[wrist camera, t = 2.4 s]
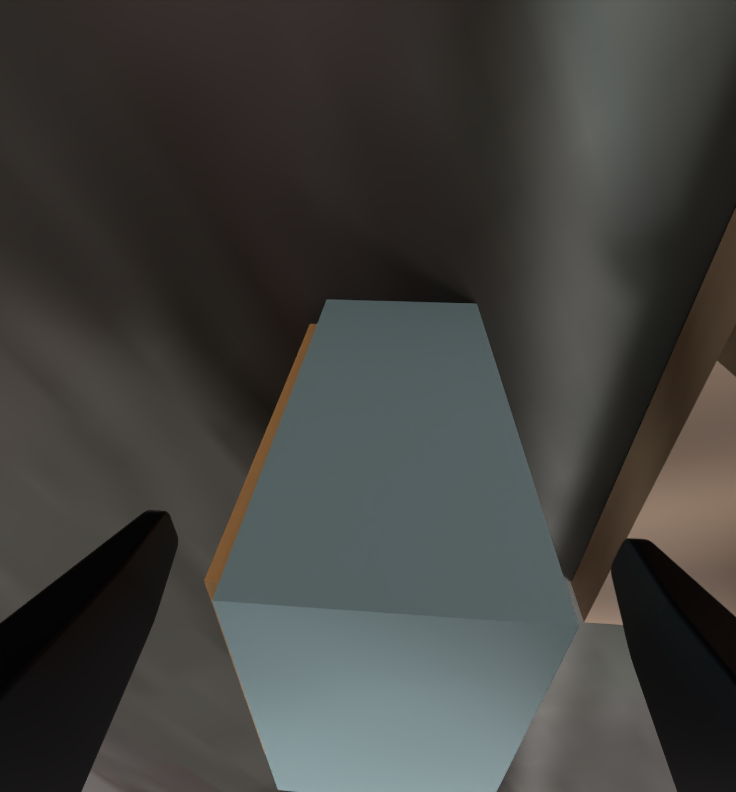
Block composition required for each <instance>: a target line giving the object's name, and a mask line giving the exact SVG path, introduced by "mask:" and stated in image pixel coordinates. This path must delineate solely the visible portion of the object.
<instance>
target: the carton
mask: <svg viewBox="0 0 736 792" xmlns="http://www.w3.org/2000/svg"><path fill="white" fill-rule="evenodd" d="M204 582H205V585H206V588H207V590H208V593H209V596H210V599H211V602H212V605H213V607H214V610H215V613H216V616H217V619H218V622H219V625H220V627H221V630H222V633H223V636H224V639H225V642H226V645H227V647H228V650H229V653H230V656H231V659H232V662H233V665H234V667H235V670H236V673H237V676H238V679H239V682H240V684H241V687H242V690H243V693H244V696H245V699H246V702H247V704H248V707H249V710H250V713H251V716H252V719H253V722H254V724H255V727H256V730H257V733H258V736H259V739H260V741H261V744H262V747H263V750H264V753H265V755H266V757H267V760H268V763H269V765H270V768H271V771H272V774H273V777H274V780H275V783H276V785H277V788H278V790H285V791H296V792H496V791H497V789H498V787H499V785H500V783H501V781H502V779H503V777H504V775H505V773H506V771H507V769H508V767H509V766H510V764H511V762H512V760H513V758H514V756H515V754H516V752H517V750H518V748H519V746H520V744H521V742H522V740H523V738H524V736H525V734H526V732H527V730H528V728H529V726H530V724H531V722H532V720H533V718H534V716H535V714H536V712H537V710H538V708H539V706H540V704H541V702H542V700H543V698H544V696H545V694H546V692H547V690H548V688H549V686H550V684H551V682H552V680H553V678H554V676H555V674H556V672H557V670H558V668H559V666H560V664H561V662H562V660H563V658H564V656H565V654H566V652H567V650H568V648H569V646H570V644H571V642H572V640H573V638H574V636H575V634H576V632H577V630H578V628H579V624H578V621H577V617H576V614H575V611H574V608H573V605H572V602H571V599H570V595H569V592H568V589H567V586H566V583H565V580H564V576H563V573H562V570H561V567H560V564H559V561H558V558H557V554H556V551H555V548H554V545H553V542H552V539H551V536H550V532H549V529H548V526H547V523H546V520H545V517H544V514H543V510H542V507H541V504H540V501H539V498H538V495H537V492H536V488H535V485H534V482H533V479H532V476H531V473H530V469H529V466H528V463H527V460H526V457H525V454H524V451H523V447H522V444H521V441H520V438H519V435H518V432H517V429H516V425H515V422H514V419H513V416H512V413H511V410H510V407H509V403H508V400H507V397H506V394H505V391H504V388H503V385H502V381H501V378H500V375H499V372H498V369H497V366H496V362H495V359H494V356H493V353H492V350H491V347H490V344H489V340H488V337H487V334H486V331H485V328H484V325H483V322H482V318H481V315H480V312H479V309H478V306H477V304H473V303H438V302H403V301H368V300H333V299H327V300H326V302H325V305H324V308H323V310H322V313H321V315H320V318H319V321H318V323H317V324H310V325H309V327H308V330H307V332H306V335H305V337H304V339H303V342H302V344H301V347H300V349H299V352H298V354H297V356H296V359H295V361H294V364H293V366H292V369H291V371H290V373H289V376H288V378H287V381H286V383H285V386H284V388H283V390H282V393H281V395H280V398H279V400H278V403H277V405H276V407H275V410H274V412H273V415H272V417H271V420H270V422H269V424H268V427H267V429H266V432H265V434H264V437H263V439H262V441H261V444H260V446H259V449H258V451H257V454H256V456H255V458H254V461H253V463H252V466H251V468H250V471H249V473H248V476H247V478H246V480H245V483H244V485H243V488H242V490H241V493H240V495H239V497H238V500H237V502H236V505H235V507H234V510H233V512H232V514H231V517H230V519H229V522H228V524H227V527H226V529H225V531H224V534H223V536H222V539H221V541H220V544H219V546H218V548H217V551H216V553H215V556H214V558H213V561H212V563H211V565H210V568H209V570H208V573H207V575H206V578H205V580H204Z"/></svg>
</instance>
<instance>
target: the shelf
mask: <svg viewBox="0 0 736 792" xmlns="http://www.w3.org/2000/svg"><path fill="white" fill-rule="evenodd" d="M627 538H637V539H647V540H649V541H651V542H653V543H654V544H655V545H656V546H657V547H658V548H659V549H661V550H662V551H663V552H664V553H665V554H666V555H667V556H668V557H670V558H671V559H672V560H673V561H674V562H675V563H676V564H677V565H679V566H680V567H681V568H682V569H683V570H684V571H685V572H686V573H687V574H689V575H690V576H691V577H692V578H693V579H694V580H695V581H696V582H698V583H699V584H700V585H701V586H702V587H703V588H704V589H705V590H707V591H708V592H709V593H710V594H711V595H712V596H713V597H714V598H715V599H717V600H718V601H719V602H720V603H721V604H722V605H723V606H724V607H726V608H727V609H728V610H729V611H730V612H731V613H732V614H733V615H735V616H736V208H735V210H734V212H733V215H732V217H731V219H730V221H729V224H728V226H727V228H726V231H725V233H724V235H723V237H722V240H721V242H720V244H719V247H718V249H717V251H716V253H715V256H714V258H713V260H712V263H711V265H710V267H709V269H708V272H707V274H706V276H705V279H704V281H703V283H702V285H701V288H700V290H699V292H698V295H697V297H696V299H695V301H694V304H693V306H692V308H691V311H690V313H689V315H688V317H687V320H686V322H685V324H684V327H683V329H682V331H681V333H680V336H679V338H678V340H677V343H676V345H675V347H674V349H673V352H672V354H671V356H670V359H669V361H668V363H667V365H666V368H665V370H664V372H663V375H662V377H661V379H660V381H659V384H658V386H657V388H656V391H655V393H654V395H653V397H652V400H651V402H650V404H649V407H648V409H647V411H646V413H645V416H644V418H643V420H642V423H641V425H640V427H639V429H638V432H637V434H636V436H635V439H634V441H633V443H632V445H631V448H630V450H629V452H628V455H627V457H626V459H625V461H624V464H623V466H622V468H621V471H620V473H619V475H618V477H617V480H616V482H615V484H614V487H613V489H612V491H611V493H610V496H609V498H608V500H607V503H606V505H605V507H604V509H603V512H602V514H601V516H600V519H599V521H598V523H597V525H596V528H595V530H594V532H593V535H592V537H591V539H590V541H589V544H588V546H587V548H586V551H585V553H584V555H583V557H582V560H581V562H580V564H579V567H578V569H577V571H576V573H575V576H574V578H573V580H572V583H571V584H572V587H573V590H574V593H575V596H576V599H577V602H578V605H579V608H580V611H581V614H582V617H583V620H584V622H588V623H603V624H617V625H623V623H622V619H621V615H620V610H619V606H618V602H617V598H616V593H615V589H614V585H613V581H612V576H611V565H612V562H613V560H614V558H615V556H616V554H617V552H618V550H619V548H620V546H621V544H622V542H623V540H625V539H627Z"/></svg>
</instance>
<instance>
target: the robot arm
mask: <svg viewBox="0 0 736 792" xmlns="http://www.w3.org/2000/svg"><path fill="white" fill-rule="evenodd" d="M177 546H178V536H177V533H176V530H175V528H174V525H173V522H172V520H171V517H170V515H169V513H167V512H166V511H156V510H148V511H146V512H144V513H142V514H141V515H140V516H138V517H137V518H136V519H134V520H133V521H132V522H130V523H129V524H128V525H127V526H125V527H124V528H123V529H121V530H120V531H119V532H118V533H116V534H115V535H114V536H112V537H111V538H110V539H108V540H107V541H106V542H105V543H103V544H102V545H101V546H99V547H98V548H97V549H96V550H94V551H93V552H92V553H90V554H89V555H88V556H87V557H85V558H84V559H83V560H81V561H80V562H79V563H77V564H76V565H75V566H74V567H72V568H71V569H70V570H68V571H67V572H66V573H65V574H63V575H62V576H61V577H59V578H58V579H57V580H55V581H54V582H53V583H52V584H50V585H49V586H48V587H46V588H45V589H44V590H43V591H41V592H40V593H39V594H37V595H36V596H35V597H33V598H32V599H31V600H30V601H28V602H27V603H26V604H24V605H23V606H22V607H21V608H19V609H18V610H17V611H15V612H14V613H13V614H11V615H10V616H9V617H8V618H6V619H5V620H4V621H2V622H1V623H0V792H81V791H82V789H83V787H84V784H85V782H86V780H87V777H88V775H89V773H90V770H91V768H92V766H93V763H94V761H95V759H96V756H97V754H98V752H99V749H100V747H101V745H102V742H103V740H104V738H105V735H106V733H107V731H108V728H109V726H110V724H111V721H112V719H113V717H114V714H115V712H116V710H117V707H118V705H119V703H120V700H121V698H122V696H123V693H124V691H125V689H126V686H127V684H128V682H129V679H130V677H131V675H132V672H133V670H134V668H135V665H136V663H137V661H138V658H139V656H140V654H141V651H142V649H143V647H144V644H145V642H146V640H147V637H148V635H149V633H150V630H151V628H152V625H153V623H154V620H155V617H156V614H157V611H158V608H159V605H160V602H161V598H162V595H163V592H164V589H165V586H166V582H167V579H168V576H169V573H170V570H171V566H172V563H173V560H174V557H175V554H176V550H177ZM611 576H612V581H613V585H614V589H615V593H616V598H617V602H618V606H619V610H620V615H621V619H622V623H623V627H624V632H625V636H626V640H627V644H628V648H629V652H630V656H631V659H632V662H633V665H634V668H635V671H636V674H637V677H638V680H639V683H640V686H641V689H642V691H643V694H644V697H645V700H646V703H647V706H648V709H649V712H650V715H651V717H652V720H653V723H654V726H655V729H656V732H657V735H658V738H659V740H660V743H661V746H662V749H663V752H664V755H665V758H666V761H667V763H668V766H669V769H670V772H671V775H672V778H673V781H674V784H675V786H676V789H677V792H736V616H735V615H733V614H732V613H731V612H730V611H729V610H728V609H727V608H726V607H724V606H723V605H722V604H721V603H720V602H719V601H718V600H717V599H715V598H714V597H713V596H712V595H711V594H710V593H709V592H708V591H707V590H705V589H704V588H703V587H702V586H701V585H700V584H699V583H698V582H696V581H695V580H694V579H693V578H692V577H691V576H690V575H689V574H687V573H686V572H685V571H684V570H683V569H682V568H681V567H680V566H679V565H677V564H676V563H675V562H674V561H673V560H672V559H671V558H670V557H668V556H667V555H666V554H665V553H664V552H663V551H662V550H661V549H659V548H658V547H657V546H656V545H655V544H654V543H653V542H651V541H649V540H647V539H637V538H627V539H625V540H623V542H622V544H621V546H620V548H619V550H618V552H617V554H616V556H615V558H614V560H613V562H612V565H611Z"/></svg>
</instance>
